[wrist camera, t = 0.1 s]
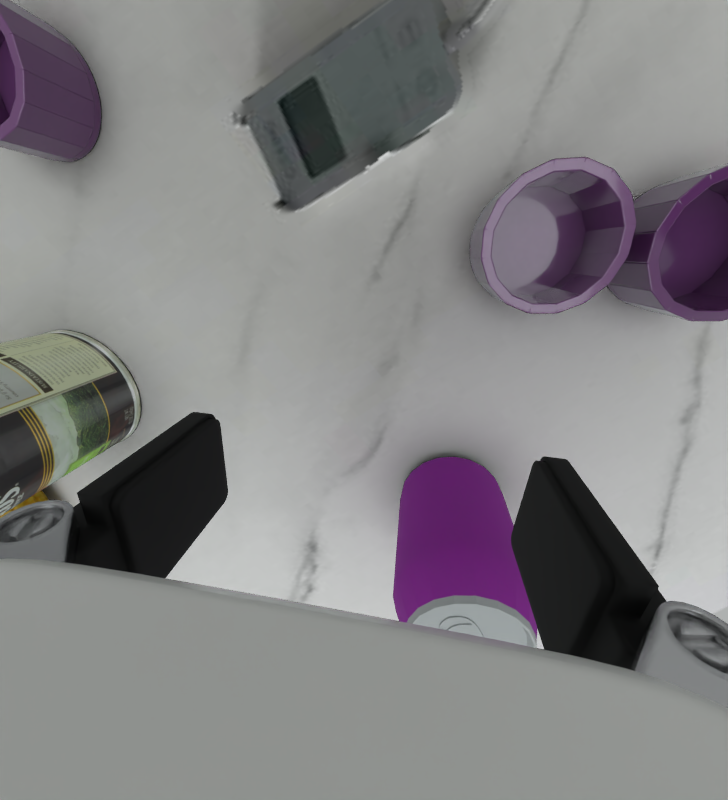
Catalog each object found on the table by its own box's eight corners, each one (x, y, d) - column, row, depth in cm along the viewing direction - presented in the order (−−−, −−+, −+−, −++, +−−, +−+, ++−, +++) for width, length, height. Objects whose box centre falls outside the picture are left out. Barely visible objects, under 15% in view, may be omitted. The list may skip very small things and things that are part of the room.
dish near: (696, 146, 17) (781, 113, 13) (762, 245, 19) (860, 242, 14) (576, 249, 20) (617, 248, 16) (642, 330, 21) (696, 349, 17)
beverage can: (517, 506, 27) (584, 675, 16) (433, 541, 30) (442, 708, 19) (467, 433, 25) (504, 569, 14) (382, 477, 28) (359, 620, 17)
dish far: (18, -10, 19) (-92, -83, 15) (119, 89, 20) (42, 48, 16) (-14, 103, 21) (-116, 68, 17) (77, 186, 23) (1, 172, 18)
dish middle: (541, 148, 18) (577, 118, 14) (614, 241, 20) (666, 238, 15) (446, 246, 21) (452, 244, 17) (515, 324, 22) (538, 340, 18)
